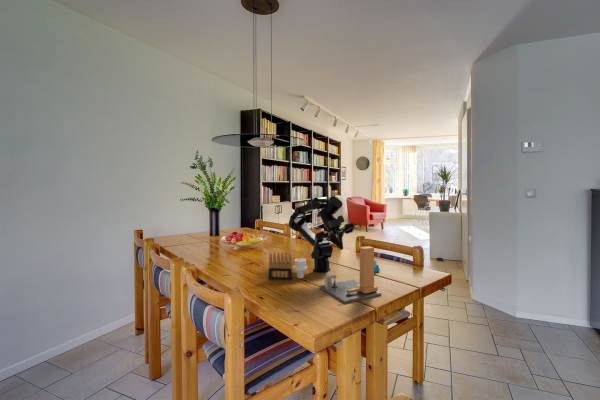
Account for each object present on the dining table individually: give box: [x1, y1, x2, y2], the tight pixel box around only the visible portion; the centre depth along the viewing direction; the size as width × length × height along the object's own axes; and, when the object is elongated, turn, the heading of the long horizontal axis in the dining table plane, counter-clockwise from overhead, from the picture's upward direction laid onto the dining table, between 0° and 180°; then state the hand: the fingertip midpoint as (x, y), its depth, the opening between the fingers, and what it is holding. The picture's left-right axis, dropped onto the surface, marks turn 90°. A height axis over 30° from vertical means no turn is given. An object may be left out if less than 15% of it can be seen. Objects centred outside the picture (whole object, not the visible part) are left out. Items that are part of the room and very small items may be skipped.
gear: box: [374, 260, 381, 273], centre depth 141 cm, size 11×6×10 cm
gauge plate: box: [319, 274, 382, 304], centre depth 113 cm, size 18×16×6 cm
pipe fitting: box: [292, 257, 309, 279], centre depth 132 cm, size 6×7×8 cm
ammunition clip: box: [268, 252, 294, 281], centre depth 129 cm, size 11×2×12 cm, turn 82°
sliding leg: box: [347, 245, 378, 294], centre depth 109 cm, size 5×12×16 cm, turn 116°
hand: (342, 249), depth 128 cm, fingers closed
